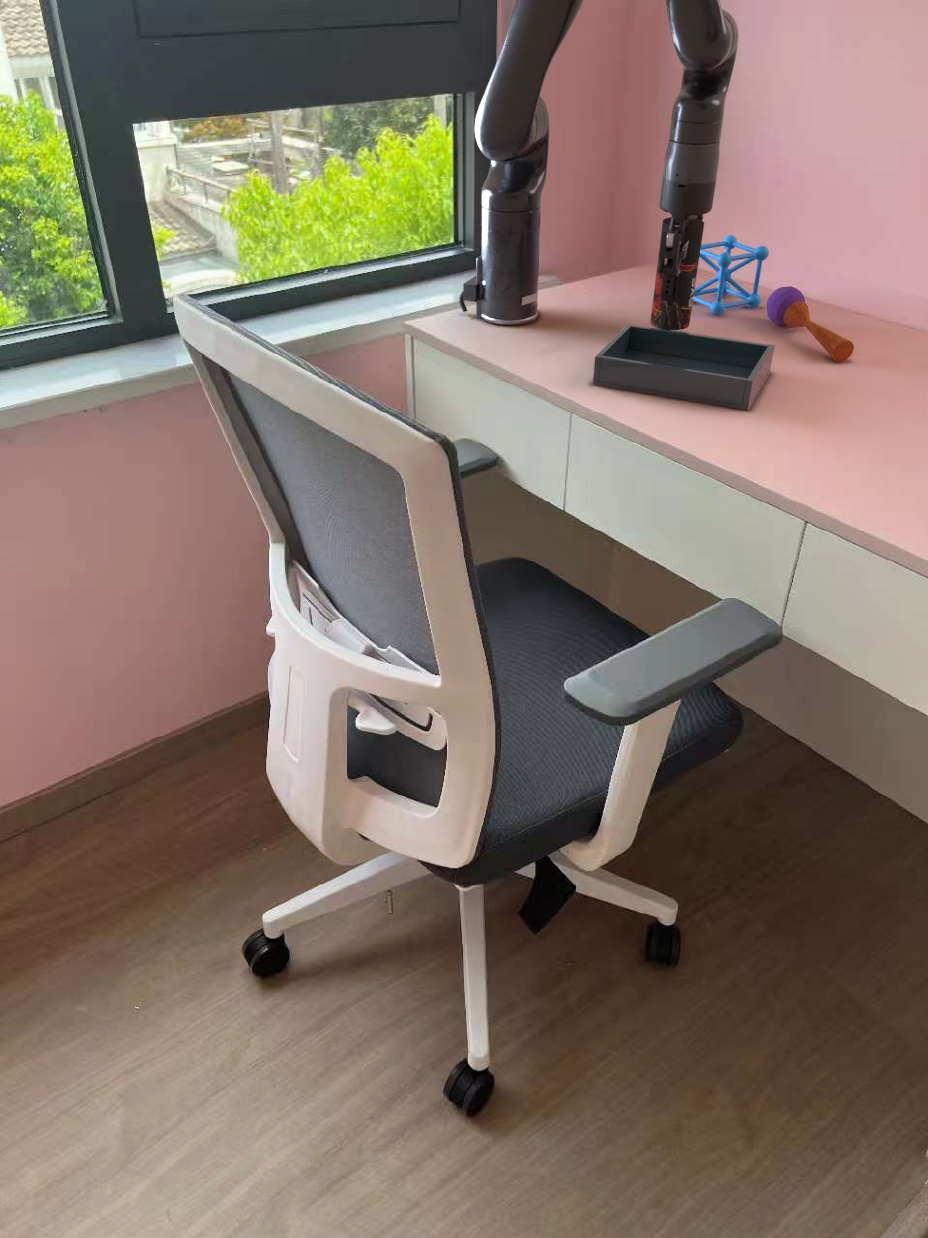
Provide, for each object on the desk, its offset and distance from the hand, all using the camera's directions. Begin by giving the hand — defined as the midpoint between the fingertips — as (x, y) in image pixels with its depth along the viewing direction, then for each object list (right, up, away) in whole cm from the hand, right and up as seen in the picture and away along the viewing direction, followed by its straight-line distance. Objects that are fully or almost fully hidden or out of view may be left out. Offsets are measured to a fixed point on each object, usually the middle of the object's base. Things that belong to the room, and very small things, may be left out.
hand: (673, 293), depth 149 cm
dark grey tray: (-1, -15, -10) cm, 18 cm away
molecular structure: (+11, +3, +17) cm, 21 cm away
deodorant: (0, -4, +3) cm, 5 cm away
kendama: (+21, -6, +3) cm, 22 cm away
